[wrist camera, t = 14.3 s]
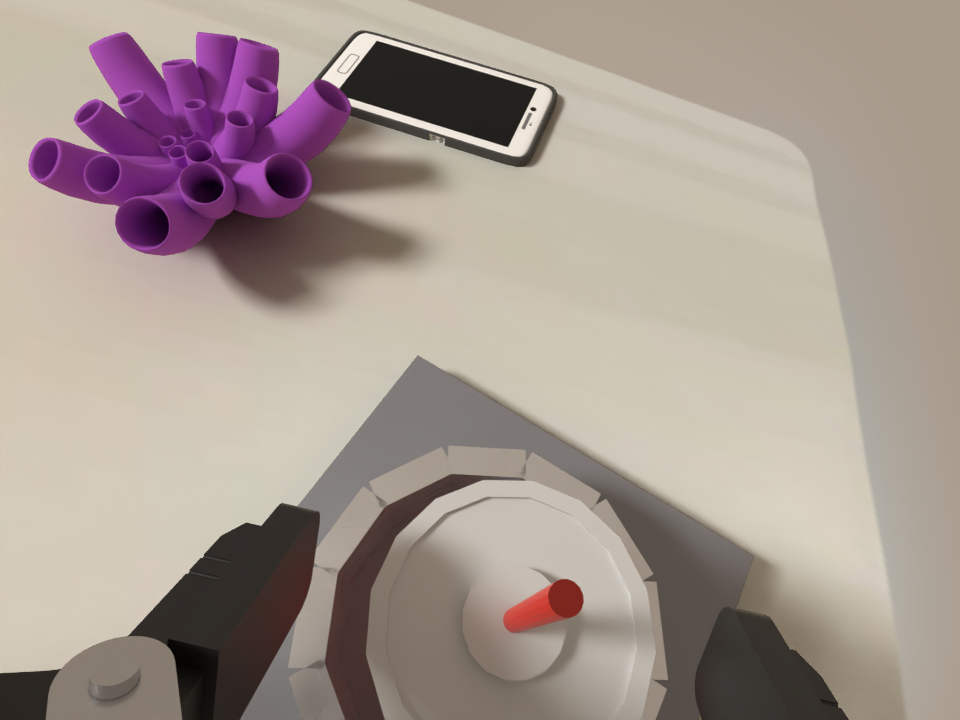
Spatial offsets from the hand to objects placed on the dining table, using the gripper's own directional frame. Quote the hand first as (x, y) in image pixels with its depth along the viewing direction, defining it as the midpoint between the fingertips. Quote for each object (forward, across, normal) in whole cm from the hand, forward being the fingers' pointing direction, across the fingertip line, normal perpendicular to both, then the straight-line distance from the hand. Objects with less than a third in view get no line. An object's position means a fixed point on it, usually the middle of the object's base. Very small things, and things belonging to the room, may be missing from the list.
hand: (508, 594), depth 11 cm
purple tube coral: (+21, +18, -4) cm, 28 cm away
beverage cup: (+7, 0, +8) cm, 10 cm away
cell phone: (+30, +8, -12) cm, 33 cm away
